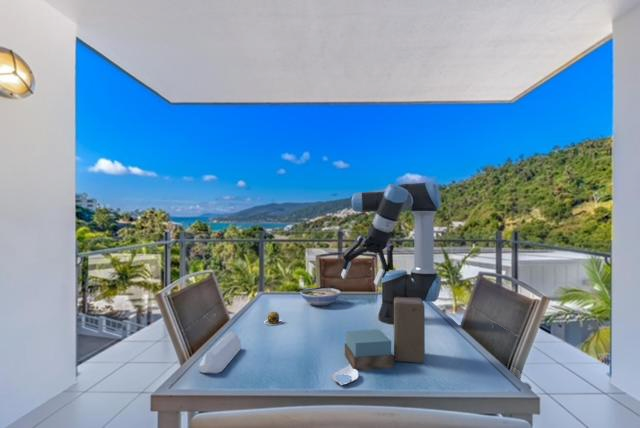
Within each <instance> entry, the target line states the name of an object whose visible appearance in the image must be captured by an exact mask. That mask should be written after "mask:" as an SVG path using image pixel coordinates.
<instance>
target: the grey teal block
mask: <svg viewBox="0 0 640 428" xmlns="http://www.w3.org/2000/svg"><path fill="white" fill-rule="evenodd" d="M345 338H346V340H345V341H346V343H345V344H347V346H348V347H349V349H350V350H351V351H352V353H353V354H354V356H355V357H367V356H382V355H391V353H392V340H391V339H390V338H389V337H388V336H387V335H386V334H384V333H383V331H381V330H380V328H379V329H377V328H376V329H365V330H362V329H360V330H347V331H346V335H345Z"/></svg>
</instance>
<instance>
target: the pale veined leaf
mask: <svg viewBox="0 0 640 428" xmlns="http://www.w3.org/2000/svg"><path fill="white" fill-rule="evenodd" d="M342 374H344V375H349V376H351V377H352V378H351V379H352V381H351V382H350V381H348V382H342V383H343V384H342V383H340V382H341V381H340V382H338V381H337V380H336V376H337V375H342ZM331 378H332V380H333V381H334V382H336V383H338V384H339V385H340V386H343V385H346V384H349V383H353V382H354V381H355V380H357V379H358V378H359V371H357V370H356V369H353V368H352V366H351V365H350V363H348V364H347V365H346V366H345V367H342V368H341V369H339V370H337V371H336V372H334V373H333V374H332V376H331Z"/></svg>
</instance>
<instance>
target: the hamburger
mask: <svg viewBox="0 0 640 428" xmlns="http://www.w3.org/2000/svg"><path fill="white" fill-rule="evenodd" d="M267 322H268V323H267ZM279 322H280V323H279ZM282 323H284V320H283V319H280V315H279V313H278V312H277V311H271V312H269V313H268V315H267V319H266V320H264V321H263V324H264V325H267V326H276V325H277V326H278V325H281V324H282Z"/></svg>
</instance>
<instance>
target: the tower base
mask: <svg viewBox="0 0 640 428" xmlns="http://www.w3.org/2000/svg"><path fill="white" fill-rule="evenodd" d="M344 357H345V359H346V360H347V362H348V364H351V365H350V366H351V367H352V368H353V369H356V370H357V371H358V370H361V371H373V369H374V370H386V369H387V370H388V369H394V353H392V352H391V355H382V356H367V357H355V356H354V354H353V353H352V351H351V350H350V349H349V347H348V346H347V344H346V343H344ZM358 372H359V371H358Z"/></svg>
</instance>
